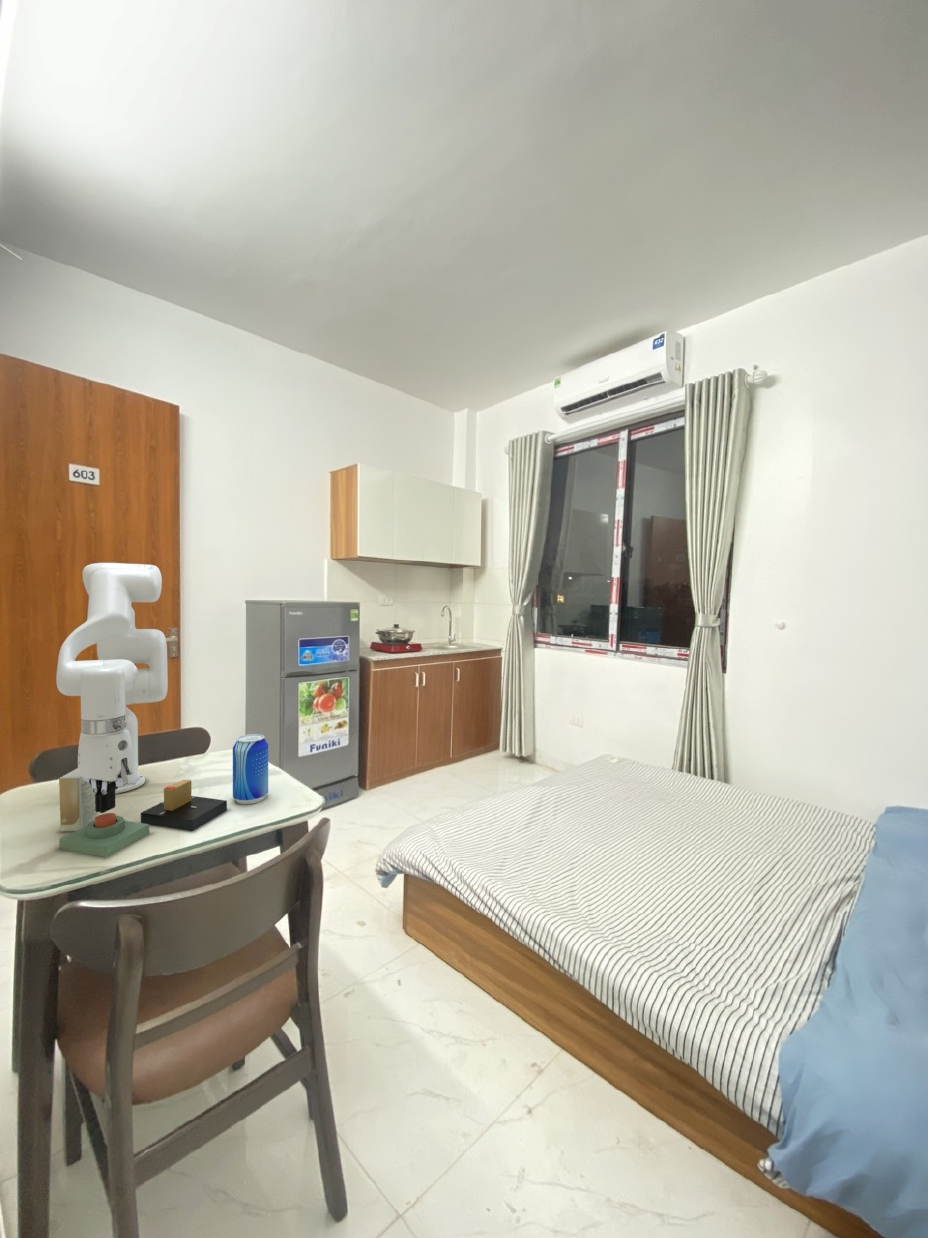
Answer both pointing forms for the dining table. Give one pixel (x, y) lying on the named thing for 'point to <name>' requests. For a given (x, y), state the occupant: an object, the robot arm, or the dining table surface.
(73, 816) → the cosmetic box
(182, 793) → the tap handle
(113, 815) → the button
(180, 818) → the base
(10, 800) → the dining table surface
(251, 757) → the beer can
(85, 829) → the button block
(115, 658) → the robot arm
